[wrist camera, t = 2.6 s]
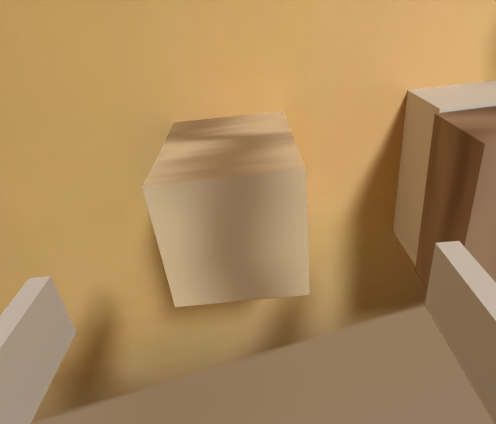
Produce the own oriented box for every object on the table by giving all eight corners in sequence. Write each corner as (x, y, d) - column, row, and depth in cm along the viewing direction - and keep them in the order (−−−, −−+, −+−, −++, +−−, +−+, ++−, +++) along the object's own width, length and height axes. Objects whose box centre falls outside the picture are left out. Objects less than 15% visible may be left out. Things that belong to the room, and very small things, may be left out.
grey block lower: (391, 228, 25) (416, 267, 21) (405, 89, 20) (439, 108, 17) (531, 214, 24) (579, 251, 21) (577, 69, 20) (647, 85, 16)
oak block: (193, 215, 24) (175, 307, 17) (174, 122, 21) (142, 186, 14) (288, 206, 24) (309, 294, 17) (283, 110, 21) (305, 169, 14)
